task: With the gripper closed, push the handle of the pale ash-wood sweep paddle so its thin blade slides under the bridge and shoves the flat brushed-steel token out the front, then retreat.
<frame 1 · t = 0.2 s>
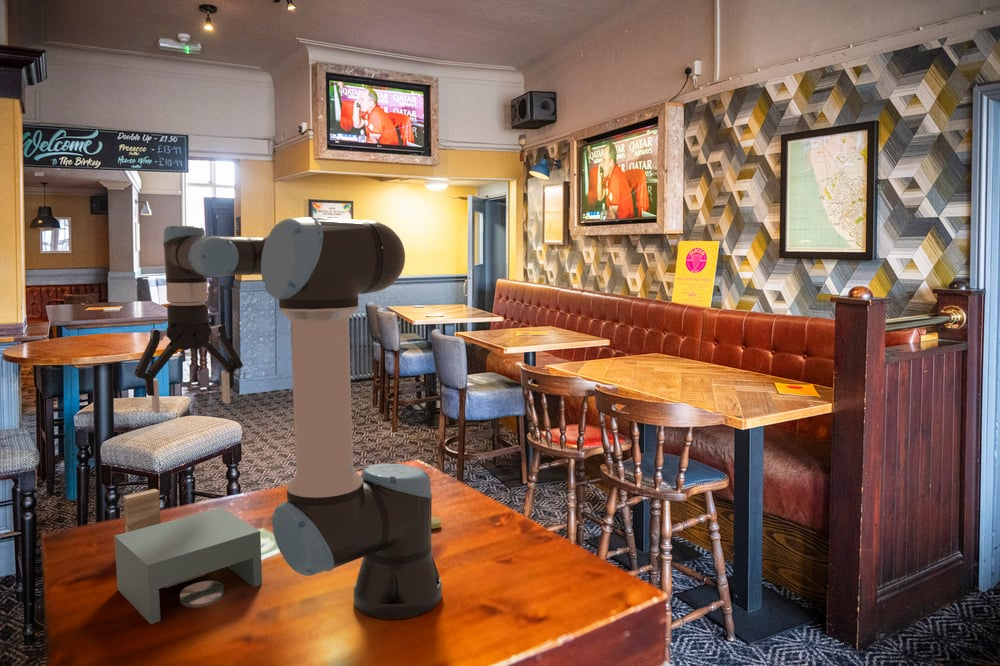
hand: (192, 406, 142), 28 cm above the table, fingers open, 13 cm apart
knife: (385, 525, 153), on the table
token: (202, 598, 121), on the table
paddle: (161, 534, 132), point 6 cm above the table, slide at 0.0 cm
bridge: (190, 586, 124), on the table
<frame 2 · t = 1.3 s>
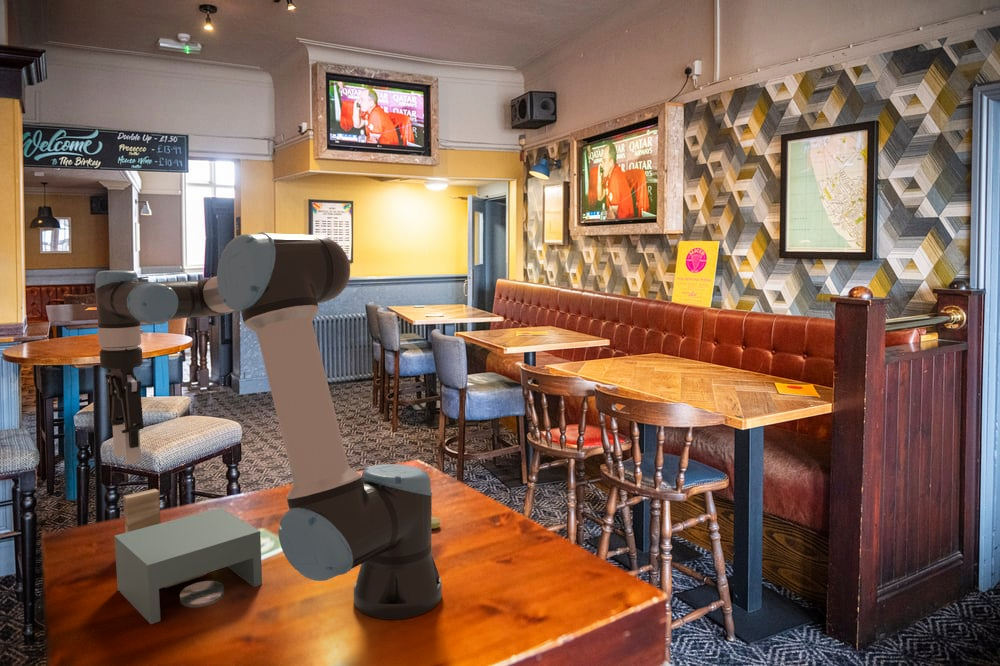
hand: (127, 458, 143), 17 cm above the table, fingers open, 6 cm apart
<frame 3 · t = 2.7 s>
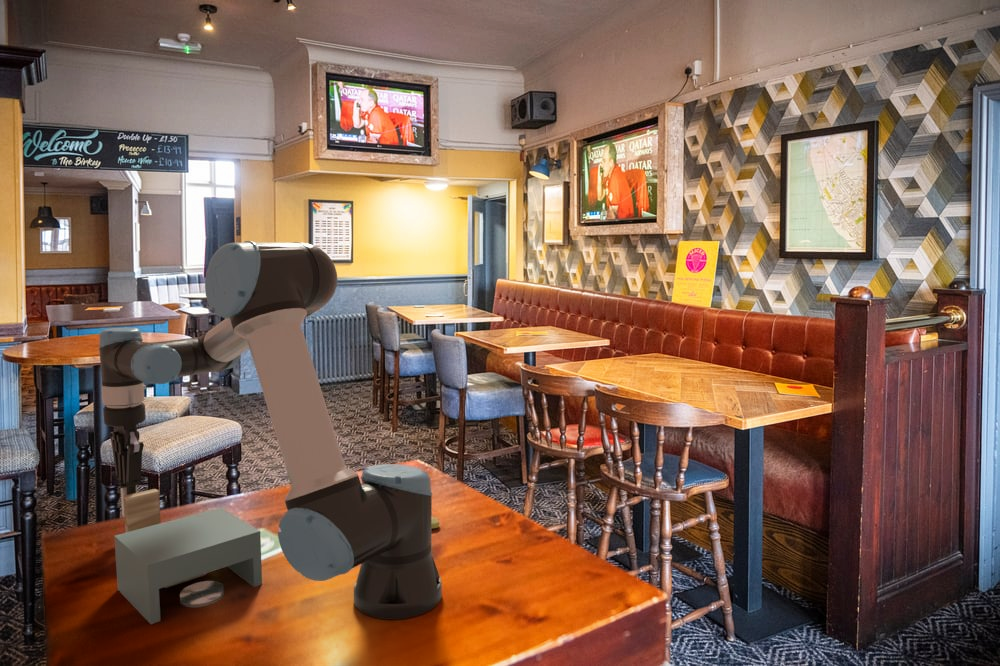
hand: (130, 514, 144), 5 cm above the table, fingers closed
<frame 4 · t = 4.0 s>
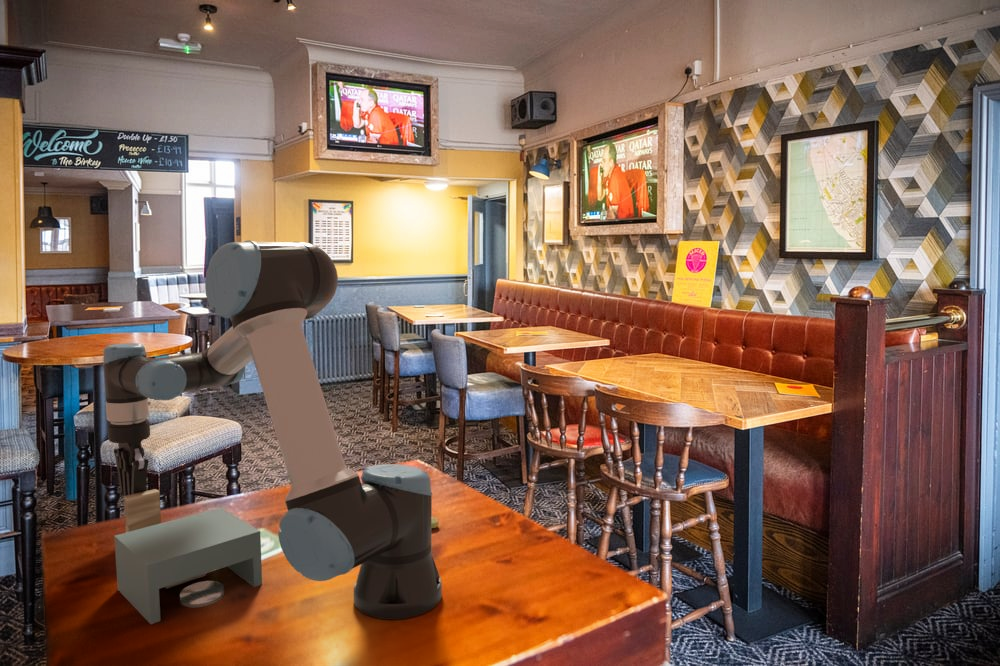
hand: (135, 531, 143), 2 cm above the table, fingers closed
paddle: (162, 534, 132), point 6 cm above the table, slide at 0.3 cm, touching hand
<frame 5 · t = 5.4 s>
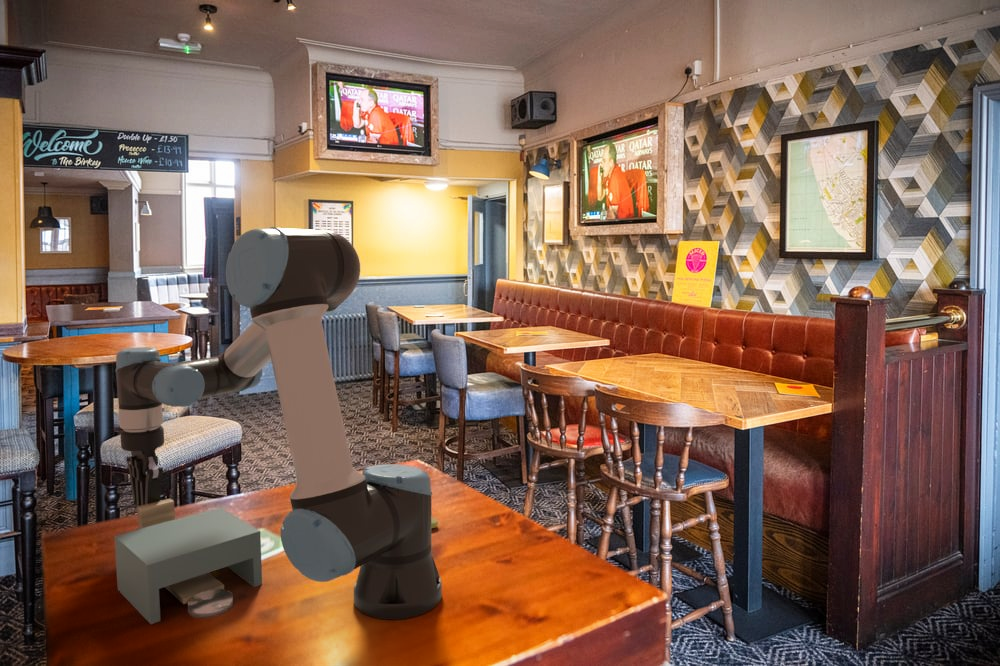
hand: (148, 542, 138), 2 cm above the table, fingers closed
token: (210, 607, 117), on the table
paddle: (177, 547, 127), point 6 cm above the table, slide at 7.8 cm, touching hand
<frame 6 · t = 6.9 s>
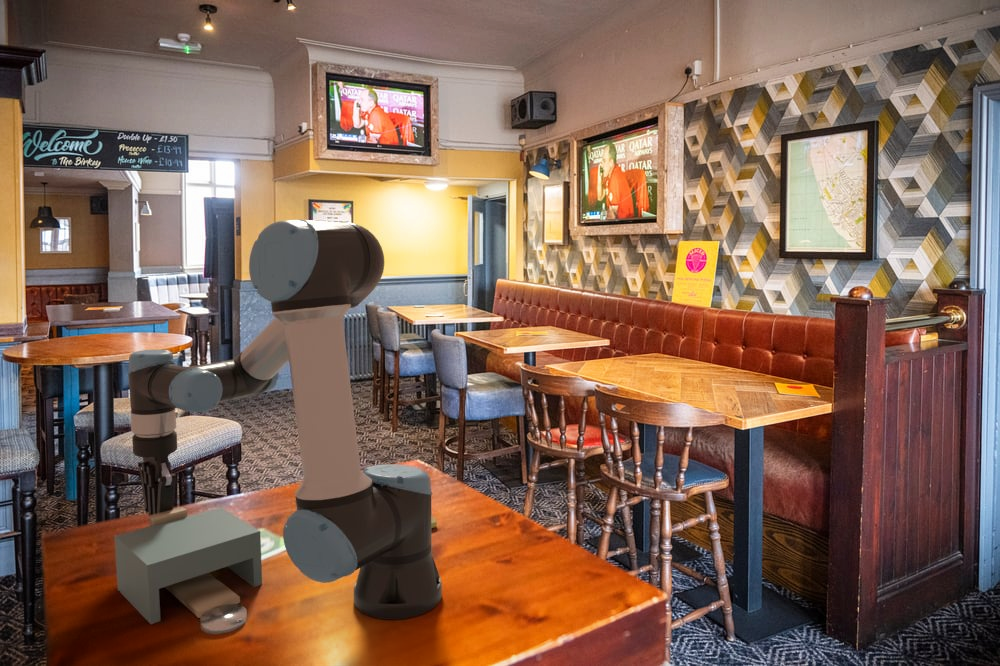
hand: (160, 551, 134), 2 cm above the table, fingers closed
token: (224, 623, 113), on the table
paddle: (191, 557, 123), point 6 cm above the table, slide at 14.0 cm, touching hand, bridge
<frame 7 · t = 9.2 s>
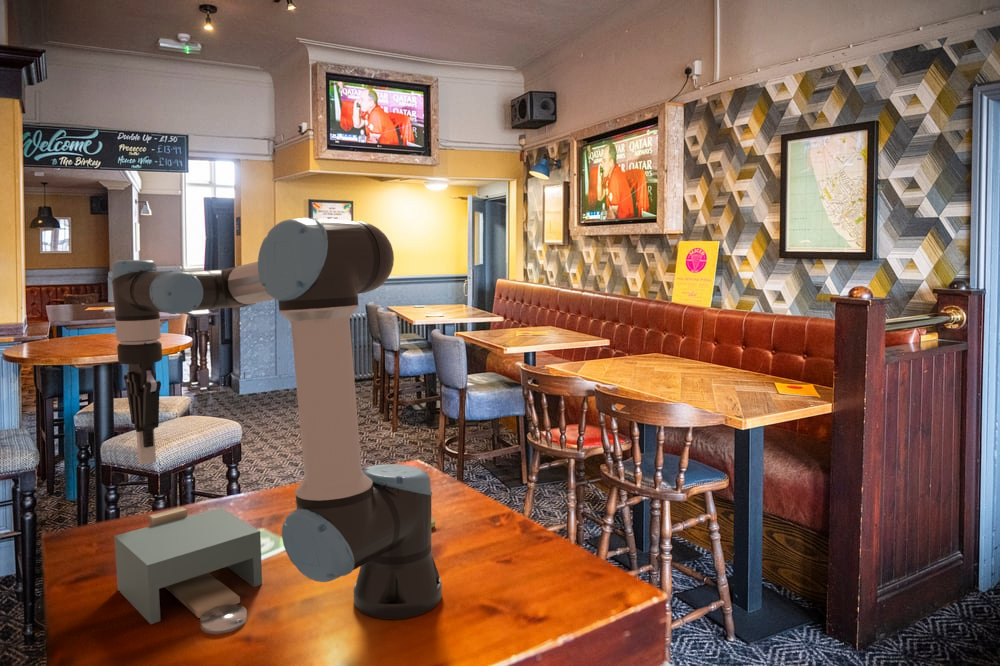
hand: (147, 462, 135), 19 cm above the table, fingers closed
paddle: (191, 557, 123), point 6 cm above the table, slide at 14.0 cm, touching bridge
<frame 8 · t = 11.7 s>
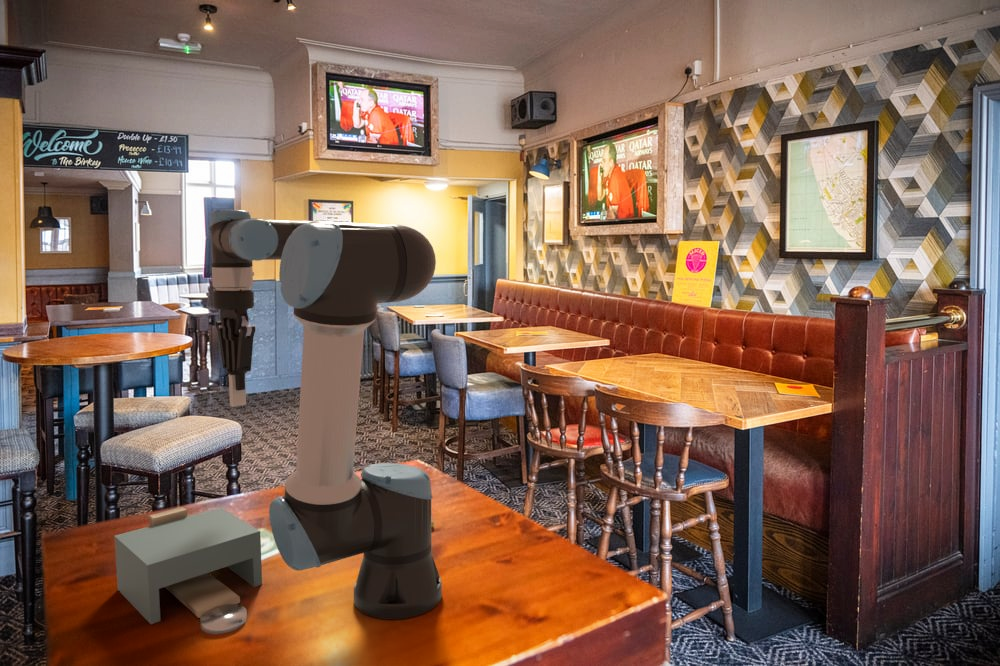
hand: (238, 405, 141), 28 cm above the table, fingers closed
at the end: token inside the target area (1.3 cm from its centre), on the table; paddle slide at 14.0 cm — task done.
